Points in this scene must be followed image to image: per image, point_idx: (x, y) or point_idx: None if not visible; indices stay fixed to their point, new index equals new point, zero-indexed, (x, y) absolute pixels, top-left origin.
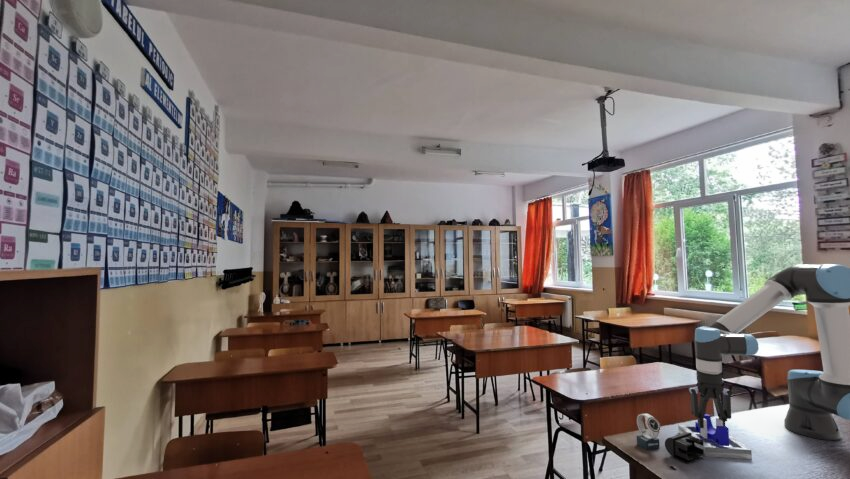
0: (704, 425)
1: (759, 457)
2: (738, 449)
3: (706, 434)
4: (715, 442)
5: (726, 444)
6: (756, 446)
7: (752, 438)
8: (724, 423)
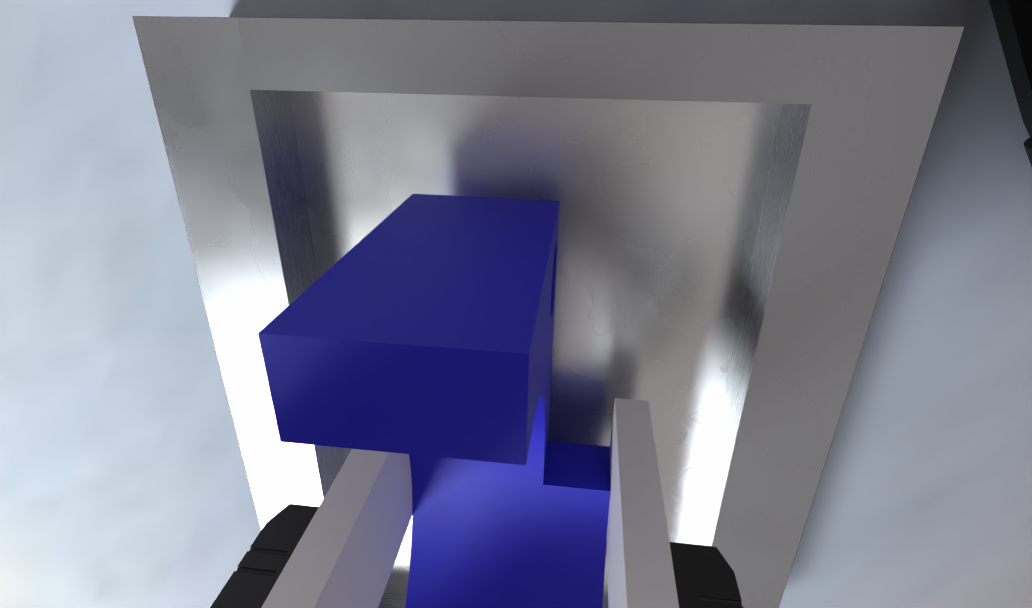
0: (673, 572)
1: (113, 95)
2: (339, 20)
3: (629, 439)
4: None
5: (447, 202)
6: (63, 368)
7: (51, 513)
8: (232, 597)
